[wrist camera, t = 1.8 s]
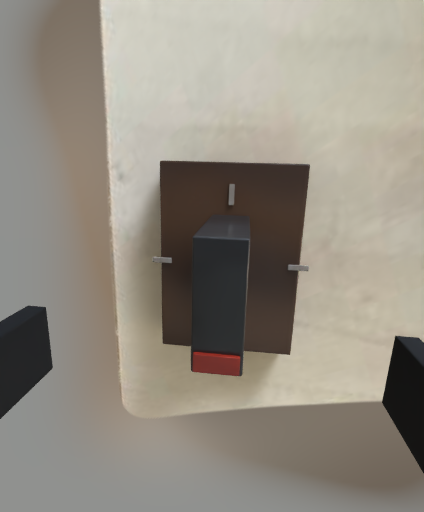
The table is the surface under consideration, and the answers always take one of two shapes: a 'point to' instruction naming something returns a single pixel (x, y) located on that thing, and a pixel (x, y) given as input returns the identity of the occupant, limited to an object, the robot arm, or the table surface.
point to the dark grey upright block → (219, 294)
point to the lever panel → (261, 242)
